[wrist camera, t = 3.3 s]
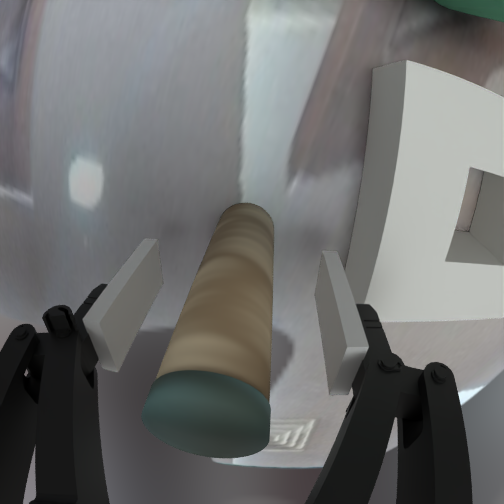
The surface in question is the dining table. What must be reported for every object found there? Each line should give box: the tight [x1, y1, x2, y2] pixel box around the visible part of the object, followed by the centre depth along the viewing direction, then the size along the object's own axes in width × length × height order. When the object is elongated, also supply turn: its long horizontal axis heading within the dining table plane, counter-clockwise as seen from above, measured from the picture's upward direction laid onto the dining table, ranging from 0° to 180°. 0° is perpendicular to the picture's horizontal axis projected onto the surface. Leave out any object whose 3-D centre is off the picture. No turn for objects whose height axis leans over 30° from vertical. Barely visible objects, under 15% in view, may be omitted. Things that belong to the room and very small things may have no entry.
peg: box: [141, 203, 274, 458], centre depth 13 cm, size 4×4×14 cm
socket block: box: [345, 60, 504, 322], centre depth 15 cm, size 14×14×5 cm
